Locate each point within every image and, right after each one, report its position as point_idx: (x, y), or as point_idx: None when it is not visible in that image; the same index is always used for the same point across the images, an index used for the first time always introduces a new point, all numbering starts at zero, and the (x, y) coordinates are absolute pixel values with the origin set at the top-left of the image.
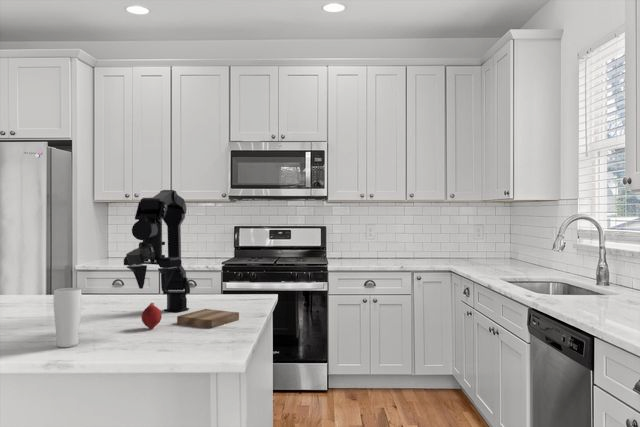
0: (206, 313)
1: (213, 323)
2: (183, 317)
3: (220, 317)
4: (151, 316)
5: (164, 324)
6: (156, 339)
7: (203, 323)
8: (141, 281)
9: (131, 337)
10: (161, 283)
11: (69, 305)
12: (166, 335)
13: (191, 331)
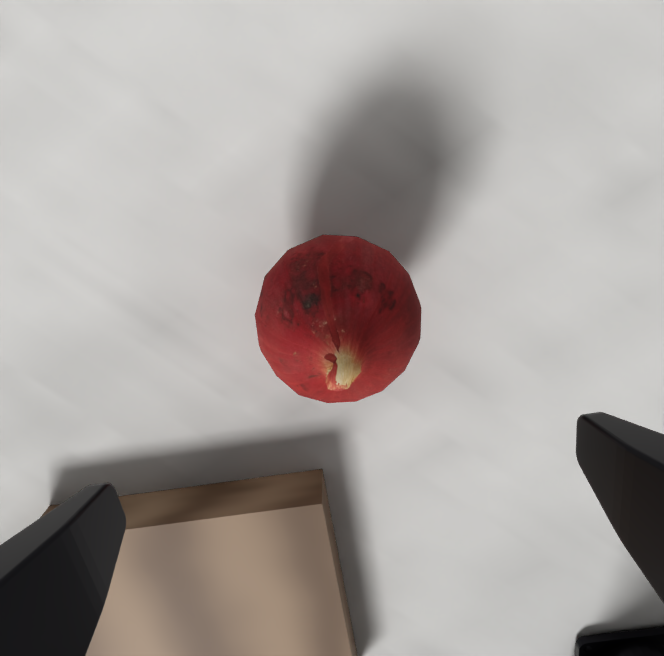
0: (239, 639)
1: None
2: (264, 508)
3: None
4: (270, 276)
5: (375, 417)
6: (4, 99)
7: None
8: (658, 522)
9: (206, 14)
10: (19, 557)
11: None
12: (72, 226)
13: (61, 393)
